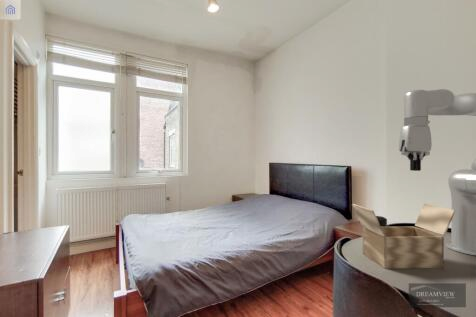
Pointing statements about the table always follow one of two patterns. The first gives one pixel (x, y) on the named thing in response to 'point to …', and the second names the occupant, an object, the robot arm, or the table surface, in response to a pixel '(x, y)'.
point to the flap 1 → (368, 219)
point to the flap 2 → (435, 218)
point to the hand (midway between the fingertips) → (415, 170)
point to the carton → (404, 248)
